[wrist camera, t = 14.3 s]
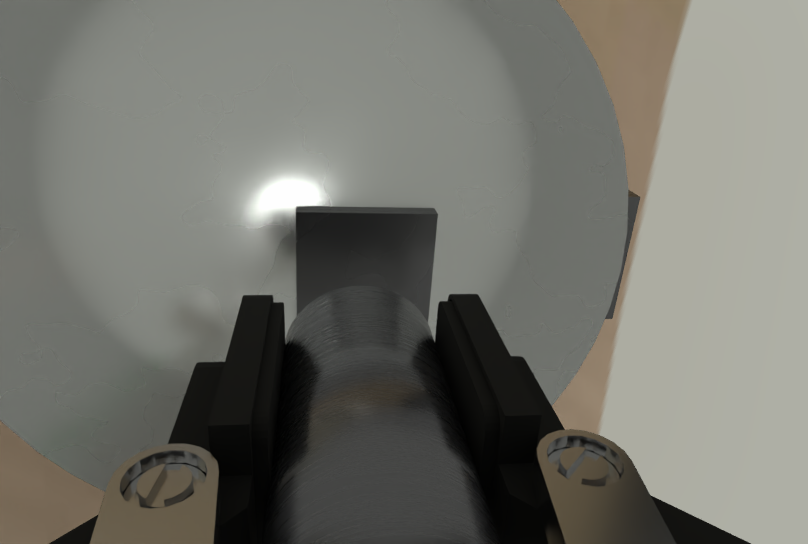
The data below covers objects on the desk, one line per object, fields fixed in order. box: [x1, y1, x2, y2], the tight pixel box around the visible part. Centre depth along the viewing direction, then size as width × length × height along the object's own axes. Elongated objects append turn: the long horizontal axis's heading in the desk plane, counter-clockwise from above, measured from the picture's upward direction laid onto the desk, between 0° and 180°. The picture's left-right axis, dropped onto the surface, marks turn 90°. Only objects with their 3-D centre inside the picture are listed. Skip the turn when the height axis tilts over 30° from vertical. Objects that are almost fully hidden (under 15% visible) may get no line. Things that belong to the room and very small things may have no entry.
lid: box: [0, 0, 640, 492], centre depth 17 cm, size 19×19×2 cm
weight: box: [261, 286, 501, 544], centre depth 10 cm, size 3×3×6 cm
